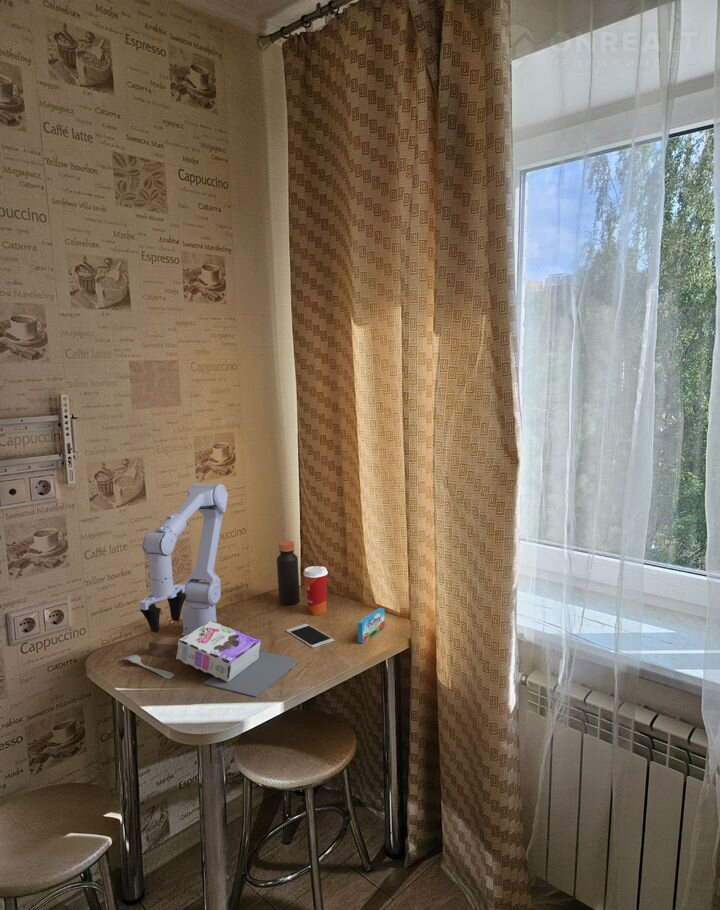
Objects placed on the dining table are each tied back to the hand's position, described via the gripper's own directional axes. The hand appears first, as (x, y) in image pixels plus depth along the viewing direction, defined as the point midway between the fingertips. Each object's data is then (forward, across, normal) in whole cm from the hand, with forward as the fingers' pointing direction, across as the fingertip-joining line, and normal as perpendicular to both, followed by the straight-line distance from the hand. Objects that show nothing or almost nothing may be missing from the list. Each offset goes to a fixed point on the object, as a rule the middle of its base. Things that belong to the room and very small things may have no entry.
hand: (165, 625), depth 170 cm
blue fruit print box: (+10, +34, -44) cm, 57 cm away
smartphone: (+10, +27, -28) cm, 40 cm away
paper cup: (+10, +43, -21) cm, 49 cm away
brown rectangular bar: (+10, +4, 0) cm, 10 cm away
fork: (+10, -6, +2) cm, 12 cm away
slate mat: (+9, +3, -26) cm, 28 cm away
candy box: (+6, +2, -24) cm, 25 cm away
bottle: (+10, +47, -8) cm, 49 cm away
